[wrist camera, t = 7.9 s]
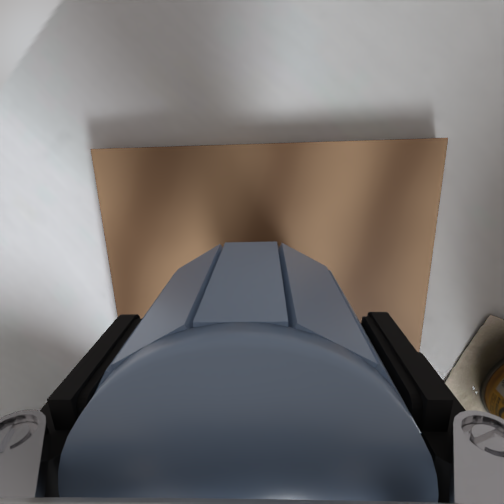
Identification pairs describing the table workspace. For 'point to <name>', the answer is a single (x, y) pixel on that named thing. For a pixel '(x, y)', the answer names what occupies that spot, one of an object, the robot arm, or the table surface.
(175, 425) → the cap
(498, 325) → the condiment
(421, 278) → the post base
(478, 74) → the table surface
